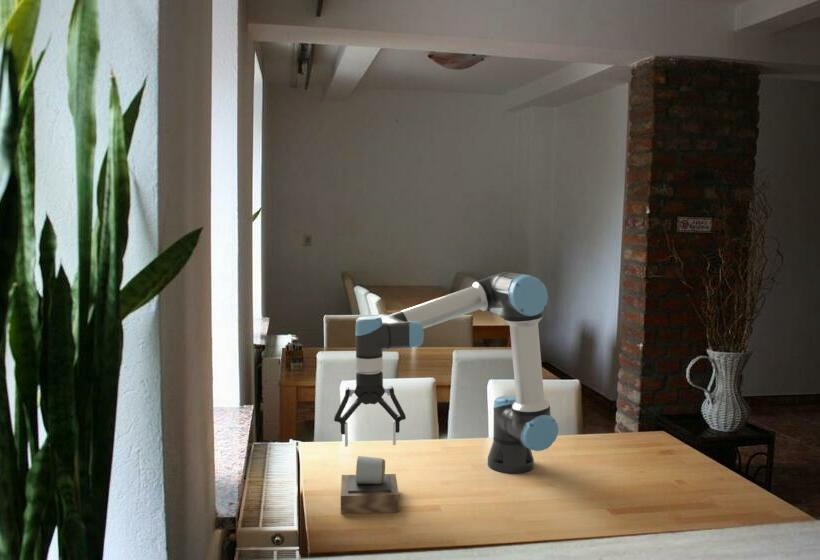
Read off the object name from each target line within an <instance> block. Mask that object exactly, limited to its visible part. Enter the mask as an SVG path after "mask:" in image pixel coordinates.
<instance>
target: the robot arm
mask: <svg viewBox="0 0 820 560" xmlns="http://www.w3.org/2000/svg"><path fill="white" fill-rule="evenodd" d="M548 300H549V296H548V291H547V287H546V285H545V284H544V283H543V282H542V280H541V279H539V278H537V277H535V276H532V275H531V274H527V273H518V272H514V271H503V272H499V273H496V274H493V275H491V276H488V277H485V278H483V279H479V280H477V281H474V282H473V283H472V285H471V286H470V287H466V288H463V289H461V290H457V291H455V292H452V293H449V294H446V295H444V296H440V297H436V298H434V299H431V300H429V301H426V302H422V303H419V304H417V305H413V306H412V307H408V308H405V309H402V310H400V311H396V312H393V313H391V314H389V313H381V314H379V315H377V316H376V315H366V316H365V315H363V316H360V317H358V318H356V320H355V330H354V332H355V333H354V335H355V370H356V371H357V372H356V373H355V375H356V376H355V379H356V382H355V384H356V385H355V388H350V387H345V391H344V392H345V393H344V397H343V399H342V400H341V402H340V405H339V407H338V408H337V411H336V413H335V414H334V418H333V421H334V422H335V423H339V424H340V434H341V435H344V447H348V446H349V436H348V435H349V433H348V430H349V429H348V426H349V424H348V421H347V420H349V419H350V417H351V415H353V413H354V412H355V411H356V410H357V409H358V408H359V406H360V405H362V404H363V405H376V404H377V403H378V404H379V405H380V406H381V407H382V408H383V409H384V410H385V411H386V412H387V413H388V415H389V416H390V417H391V418H392V424H391V425H392V445H393V446H396V445H397V443H396V442H397V439H396V438H397V435H396V434H398V433H400V422H401V421H403V420H406V418H407V417H406V413H405V411H404V410H403V407H402V406H401V404H400V402H399V400H398V398H397V396H396V394H395V389H394V387H393V386H392V385H391V386H389V387H386V388H385V387H384V381H383V380H384V377H383V375H384V373H383V372H382V371H383V368H384V367H383V365H384V363H383V361H384V359H383V355H384V354H383V350H393V349H412V348H417V347H420V346H422V345H423V342H424V339H425V337H424V336H425V333H424V329H427V328H429V327H432V326H435V325H438V324H441V323H444V322H447V321H450V320H453V319H456V318H458V317H461V316H464V315H467V314H470V313H473V312H476V311H479V310H480V311H482V312H485V311H488V310H492V309H502V312H503V321H504V322H505V323H507V324H508V325H509V332H510V333H509V334H510V346H511V357H512V368H513V377H514V378H513V379H514V390H515V394H514V395H513V394H512V395H510V394H509V395H501V396H498V397H496V398H495V399H494V401H493V402H494V403H493V407H492V408H493V436H492V437H493V442H492V445H491V447H490V449H489V453H488V455H487V467H489V468H490V469H492V470H494V471H496V472H500V473H506V474H507V473H508V474H521V473H526V472H529V471H532V470H533V469H534V467H535V459H534V455H533V452H532V451H535V452H542V451H545V450H547V449H549V448H550V447H552V445H553V443H554V442H555V441H556V439H557V437H558V435H559V425H558V423H557V420H556V419H555V418H554V417H553V416H552V415H551V413H552V412H551V405H550V402H549V401H548V400H547V399H546V398H545V394H544V393H545V392H544V379H543V369H542V368H543V367H542V357H541V342H540V332H539V322H540V321H542V319H543V311H544V309H545V307H546V306H547V304H548ZM354 394H355V396H356V397H357V398H356V399H355V400H354V402H353V403H352V404H351V406H350V407H349V408H348V409H347V410H346V411H345V413H344V414H343V411H344V410H345V408H346V406H347V404H348V401H349V399H350V397H352V396H353V395H354ZM385 394H387V396H388V397H389V396H390V399H391V401H392V402H393V404H394V407H395V409H396V410H397V412H398V414H397V413H396V412H395V411H394V410H393V408H392V407H391V406H390V405H389V404H388V403H387V402H386V400H385V399H384V398H383V396H384V395H385ZM342 414H343V415H342Z"/></svg>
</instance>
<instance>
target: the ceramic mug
mask: <svg viewBox="0 0 820 560" xmlns="http://www.w3.org/2000/svg"><path fill="white" fill-rule="evenodd" d="M355 470H356V471H355V475H356V483H357V484H381V483H383V482H384V477H385V474H386V460H385V458H382V457H376V456H375V457H371V456H361V455H358V456H357V458H356V469H355Z"/></svg>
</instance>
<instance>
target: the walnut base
mask: <svg viewBox="0 0 820 560" xmlns="http://www.w3.org/2000/svg"><path fill="white" fill-rule="evenodd" d="M340 480H341V483H340V484H341V485H340V514H368V513H369V514H375V513H376V514H377V513H378V512H380V513H399V512H400V511H399V510H400V509H399V508H400V507H399V506H400V503H399V502H400V501H399V500H400V498H399V497H400V494H399V488H398V481H397V475H396V473H385V477H384V482H383V483H381V484H357V483H356V474H341V479H340Z"/></svg>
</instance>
